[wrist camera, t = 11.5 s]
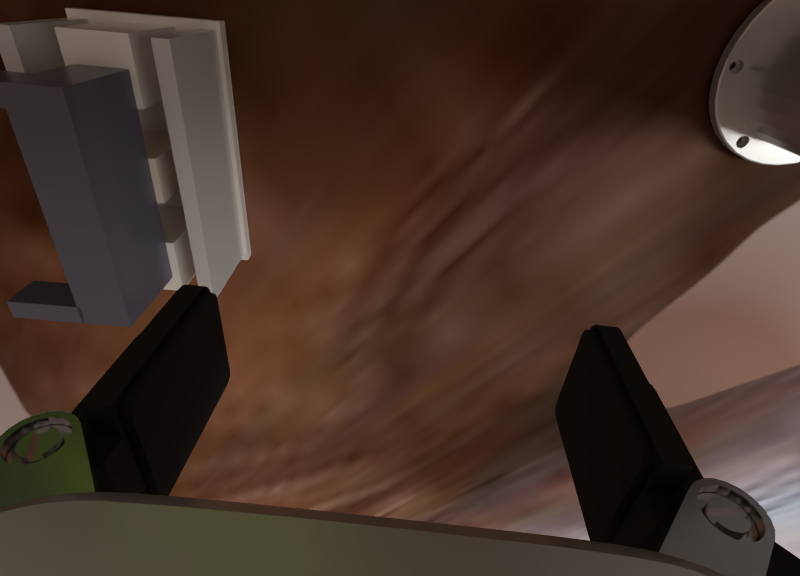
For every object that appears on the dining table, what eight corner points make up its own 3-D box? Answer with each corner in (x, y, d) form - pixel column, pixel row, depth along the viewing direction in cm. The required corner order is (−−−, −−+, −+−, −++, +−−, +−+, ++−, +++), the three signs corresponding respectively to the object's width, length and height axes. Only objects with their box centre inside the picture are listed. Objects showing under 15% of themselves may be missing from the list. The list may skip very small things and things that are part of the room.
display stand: (224, 20, 31) (173, 28, 24) (251, 254, 41) (219, 306, 34) (74, 7, 31) (-21, 12, 24) (137, 246, 41) (82, 296, 34)
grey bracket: (128, 69, 26) (62, 87, 21) (172, 277, 34) (131, 327, 29) (0, 56, 26) (-98, 72, 21) (73, 268, 34) (13, 317, 29)
